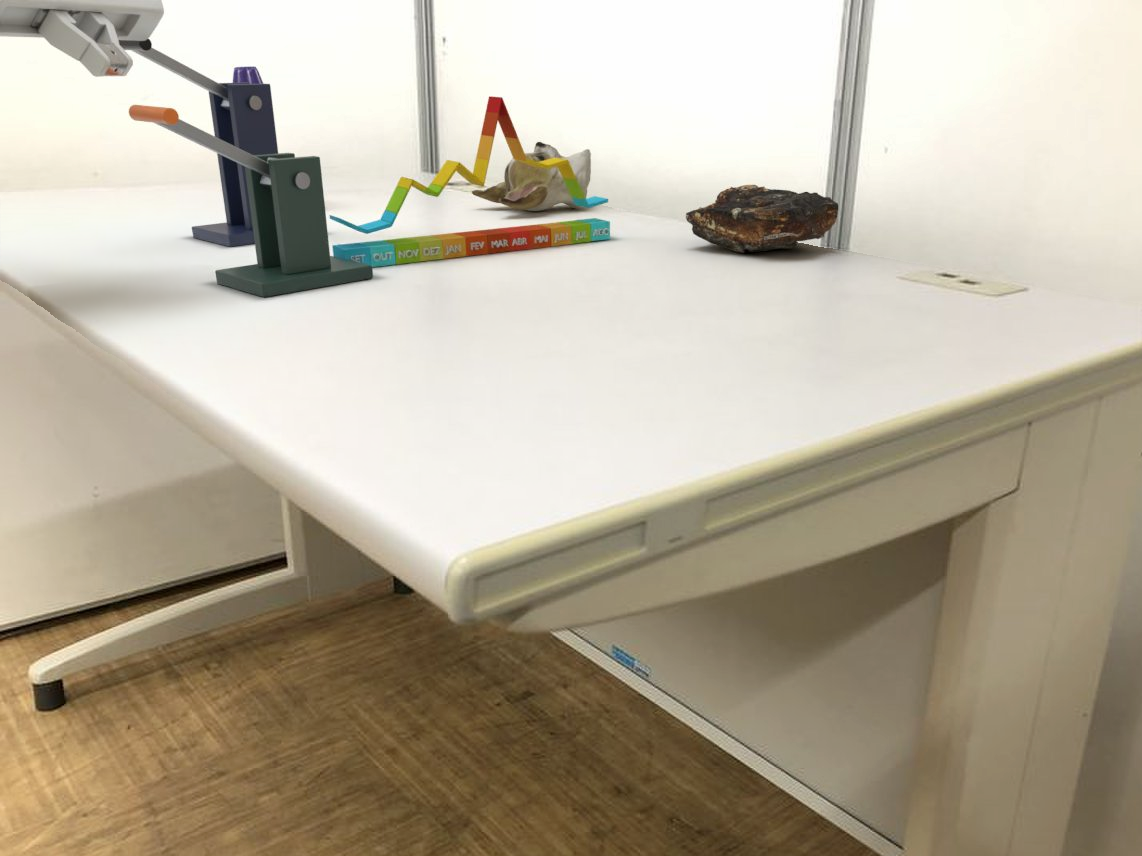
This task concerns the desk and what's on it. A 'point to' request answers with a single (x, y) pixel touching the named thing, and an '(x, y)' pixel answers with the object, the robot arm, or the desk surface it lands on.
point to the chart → (481, 239)
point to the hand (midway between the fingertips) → (116, 70)
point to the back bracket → (250, 133)
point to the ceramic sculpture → (538, 181)
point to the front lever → (200, 138)
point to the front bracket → (290, 233)
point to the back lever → (176, 68)
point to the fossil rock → (763, 218)
